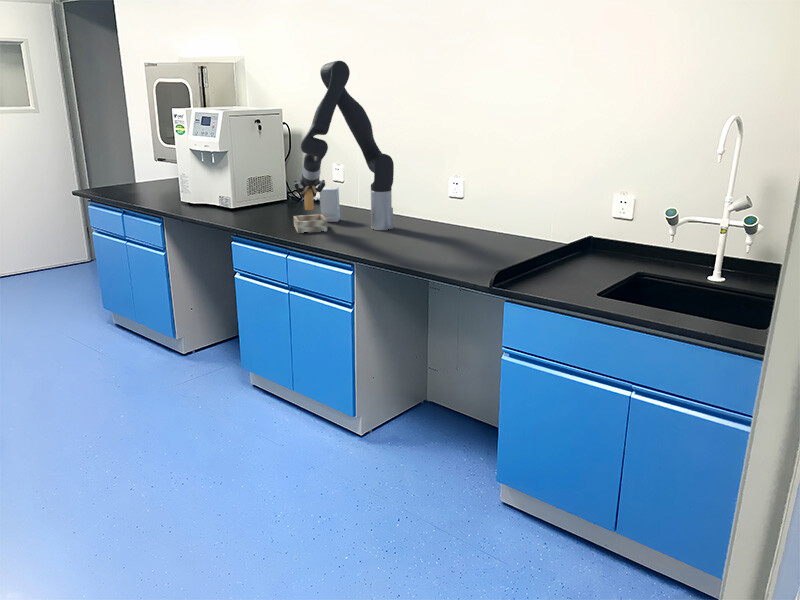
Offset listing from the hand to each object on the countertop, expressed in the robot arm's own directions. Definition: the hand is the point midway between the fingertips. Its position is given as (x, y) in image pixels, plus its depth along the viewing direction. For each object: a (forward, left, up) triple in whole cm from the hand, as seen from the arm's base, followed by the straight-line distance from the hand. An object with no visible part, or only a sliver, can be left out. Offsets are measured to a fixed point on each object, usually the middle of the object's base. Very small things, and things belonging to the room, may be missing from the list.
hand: (308, 196), depth 280 cm
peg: (0, +2, -6) cm, 6 cm away
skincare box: (-12, -13, -15) cm, 23 cm away
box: (0, +2, -14) cm, 15 cm away
